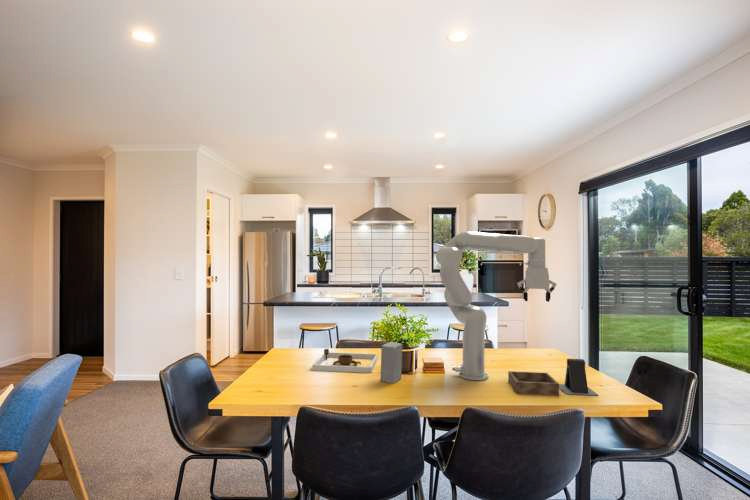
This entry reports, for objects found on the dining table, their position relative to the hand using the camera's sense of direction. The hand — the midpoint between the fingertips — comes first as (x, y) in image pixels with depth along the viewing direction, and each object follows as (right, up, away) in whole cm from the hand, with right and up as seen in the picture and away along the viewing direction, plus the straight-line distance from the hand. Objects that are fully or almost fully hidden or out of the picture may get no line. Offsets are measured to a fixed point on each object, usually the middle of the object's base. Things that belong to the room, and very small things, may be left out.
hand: (536, 301), depth 185 cm
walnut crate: (-11, -33, -23) cm, 41 cm away
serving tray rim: (-89, -33, +12) cm, 96 cm away
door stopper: (+6, -33, -25) cm, 41 cm away
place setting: (-92, -34, +15) cm, 99 cm away
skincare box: (-68, -33, -14) cm, 77 cm away
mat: (+6, -33, -25) cm, 41 cm away
